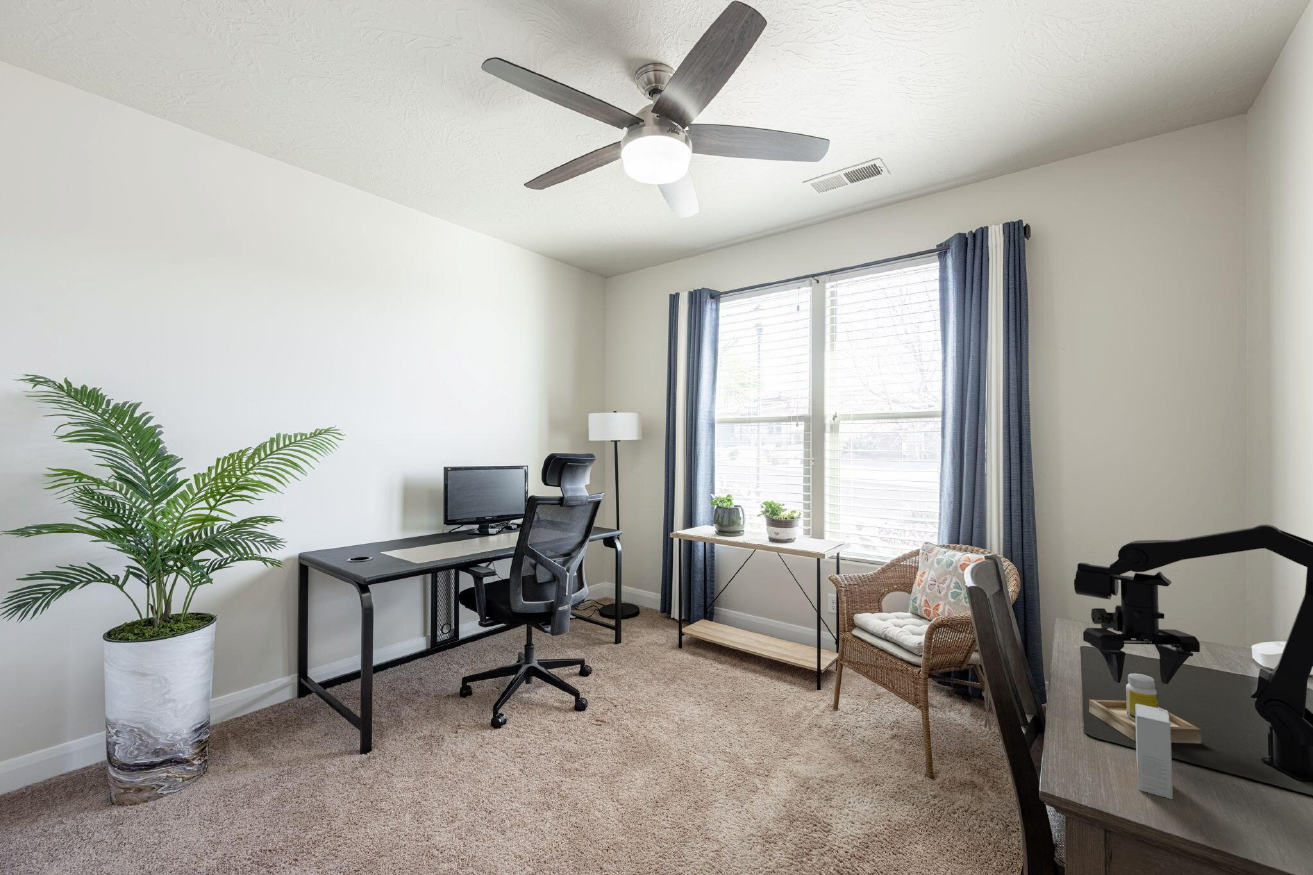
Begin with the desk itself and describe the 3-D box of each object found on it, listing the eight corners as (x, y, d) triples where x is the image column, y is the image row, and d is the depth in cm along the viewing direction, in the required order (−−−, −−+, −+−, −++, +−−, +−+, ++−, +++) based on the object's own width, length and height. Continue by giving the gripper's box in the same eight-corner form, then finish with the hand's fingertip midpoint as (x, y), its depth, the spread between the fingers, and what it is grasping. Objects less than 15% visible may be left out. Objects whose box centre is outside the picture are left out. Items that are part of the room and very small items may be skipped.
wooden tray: (1201, 746, 105) (1201, 729, 105) (1134, 744, 106) (1134, 727, 106) (1149, 716, 117) (1148, 701, 117) (1089, 714, 118) (1089, 699, 118)
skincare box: (1136, 773, 95) (1134, 702, 95) (1170, 783, 92) (1168, 709, 92) (1137, 790, 90) (1135, 715, 90) (1173, 800, 87) (1171, 723, 88)
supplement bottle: (1164, 726, 109) (1162, 683, 109) (1135, 724, 110) (1134, 681, 110) (1148, 714, 113) (1147, 673, 113) (1121, 712, 114) (1120, 671, 114)
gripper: (1153, 595, 120) (1154, 668, 120) (1064, 593, 121) (1065, 666, 120) (1201, 609, 109) (1203, 690, 108) (1103, 607, 110) (1104, 688, 109)
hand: (1140, 682), depth 112 cm, fingers open, 9 cm apart
